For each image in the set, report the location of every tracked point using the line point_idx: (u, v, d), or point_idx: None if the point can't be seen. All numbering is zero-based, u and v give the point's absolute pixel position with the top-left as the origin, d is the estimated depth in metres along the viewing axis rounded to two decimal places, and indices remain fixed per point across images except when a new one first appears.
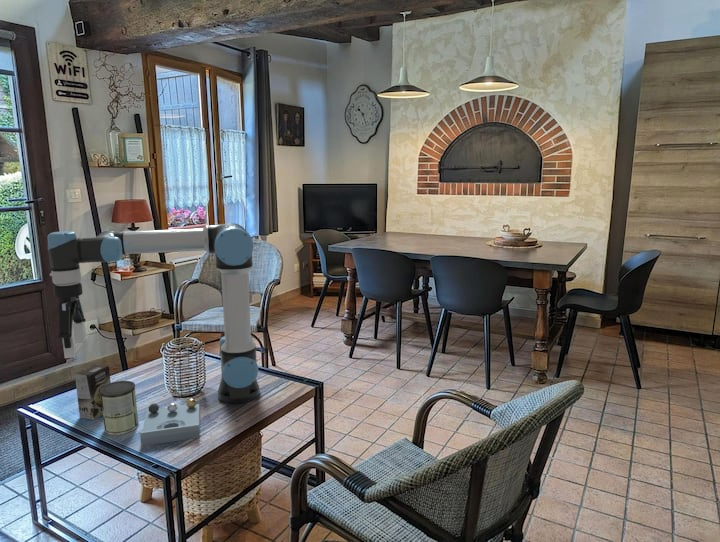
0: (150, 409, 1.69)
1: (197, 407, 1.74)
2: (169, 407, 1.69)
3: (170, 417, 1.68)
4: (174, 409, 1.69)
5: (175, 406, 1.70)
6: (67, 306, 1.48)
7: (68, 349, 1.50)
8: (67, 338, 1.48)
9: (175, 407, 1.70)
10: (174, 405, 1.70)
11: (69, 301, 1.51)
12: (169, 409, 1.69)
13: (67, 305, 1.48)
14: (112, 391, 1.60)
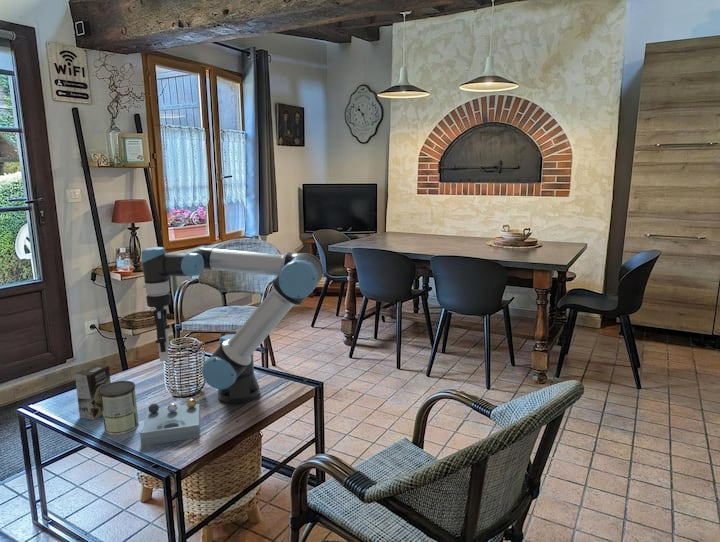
0: (150, 409, 1.69)
1: (197, 407, 1.74)
2: (169, 407, 1.69)
3: (170, 417, 1.68)
4: (174, 409, 1.69)
5: (175, 406, 1.70)
6: (162, 314, 1.65)
7: (163, 353, 1.67)
8: (163, 343, 1.65)
9: (175, 407, 1.70)
10: (174, 405, 1.70)
11: (162, 310, 1.68)
12: (169, 409, 1.69)
13: (162, 313, 1.65)
14: (112, 391, 1.60)
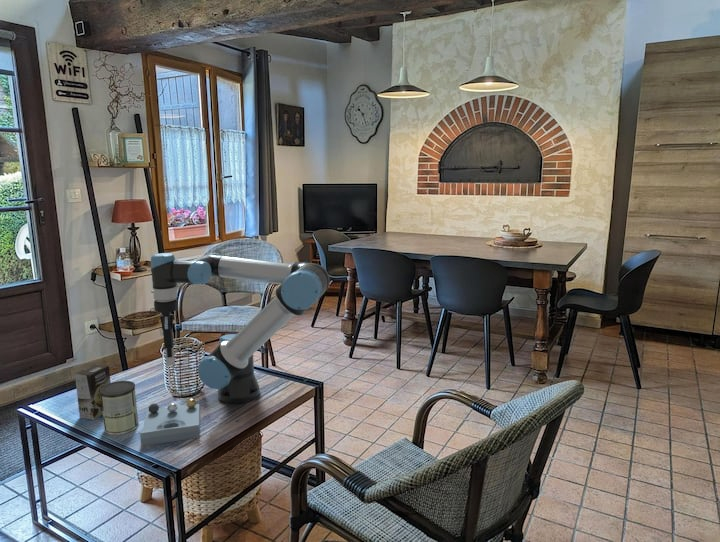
0: (150, 409, 1.69)
1: (197, 407, 1.74)
2: (169, 407, 1.69)
3: (170, 417, 1.68)
4: (174, 409, 1.69)
5: (175, 406, 1.70)
6: (169, 326, 1.68)
7: (169, 358, 1.75)
8: (170, 349, 1.73)
9: (175, 407, 1.70)
10: (174, 405, 1.70)
11: (168, 317, 1.69)
12: (169, 409, 1.69)
13: (169, 326, 1.68)
14: (112, 391, 1.60)
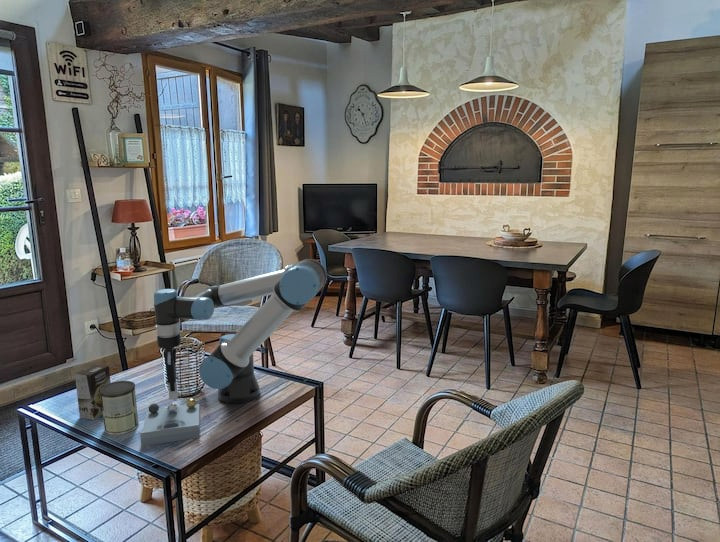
0: (150, 409, 1.69)
1: (197, 407, 1.74)
2: (169, 407, 1.69)
3: (170, 417, 1.68)
4: (174, 409, 1.69)
5: (175, 406, 1.70)
6: (172, 362, 1.70)
7: (172, 392, 1.77)
8: (173, 383, 1.75)
9: (175, 407, 1.70)
10: (174, 405, 1.70)
11: (171, 353, 1.71)
12: (169, 409, 1.69)
13: (172, 361, 1.70)
14: (112, 391, 1.60)
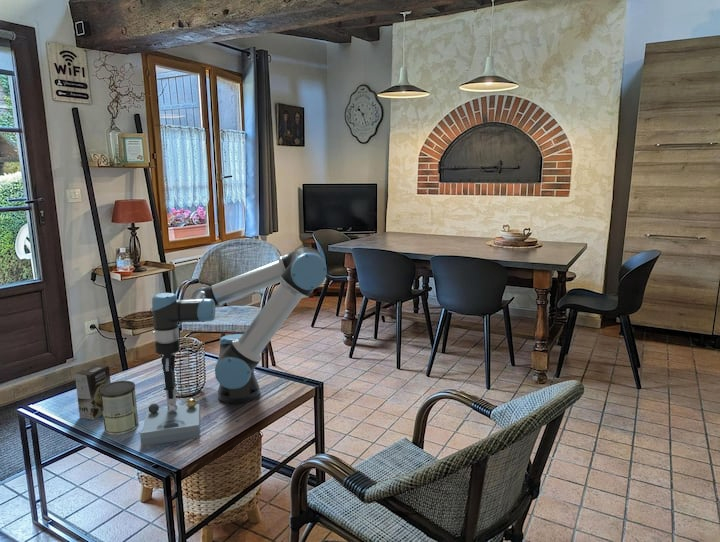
0: (150, 409, 1.69)
1: (197, 407, 1.74)
2: (169, 407, 1.69)
3: (170, 417, 1.68)
4: (174, 409, 1.69)
5: (175, 406, 1.70)
6: (170, 369, 1.64)
7: (170, 399, 1.71)
8: (171, 390, 1.69)
9: (175, 407, 1.70)
10: (174, 405, 1.70)
11: (169, 359, 1.65)
12: (169, 409, 1.69)
13: (170, 368, 1.64)
14: (112, 391, 1.60)
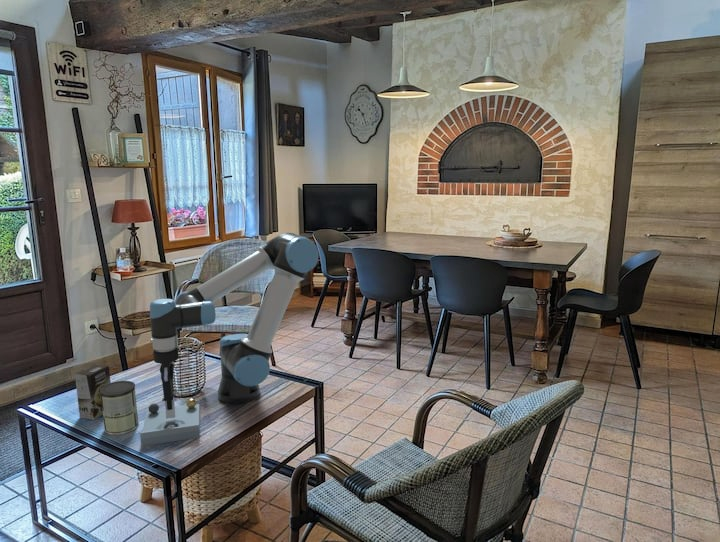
0: (150, 409, 1.69)
1: (197, 407, 1.74)
2: None
3: None
4: None
5: None
6: (169, 379, 1.56)
7: (169, 410, 1.64)
8: (170, 401, 1.62)
9: None
10: None
11: (168, 368, 1.58)
12: None
13: (169, 378, 1.56)
14: (112, 391, 1.60)
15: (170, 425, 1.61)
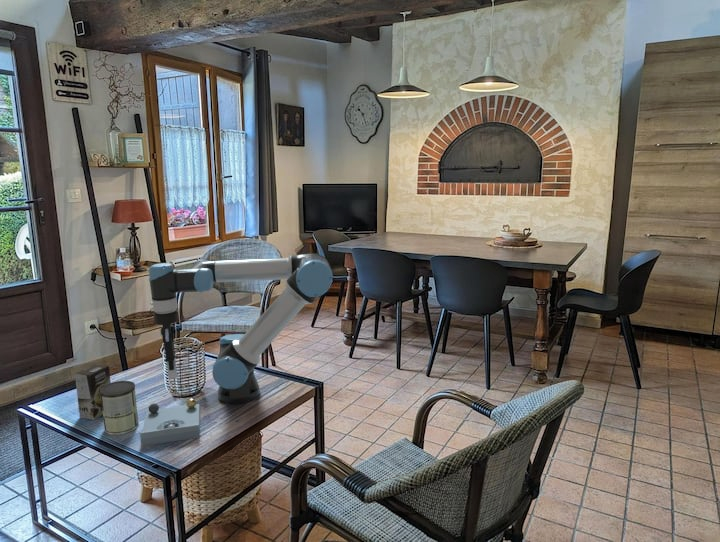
0: (150, 409, 1.69)
1: (197, 407, 1.74)
2: None
3: (170, 417, 1.68)
4: None
5: None
6: (170, 339, 1.63)
7: (171, 371, 1.70)
8: (171, 361, 1.68)
9: None
10: None
11: (169, 329, 1.64)
12: None
13: (170, 338, 1.63)
14: (112, 391, 1.60)
15: (170, 424, 1.62)
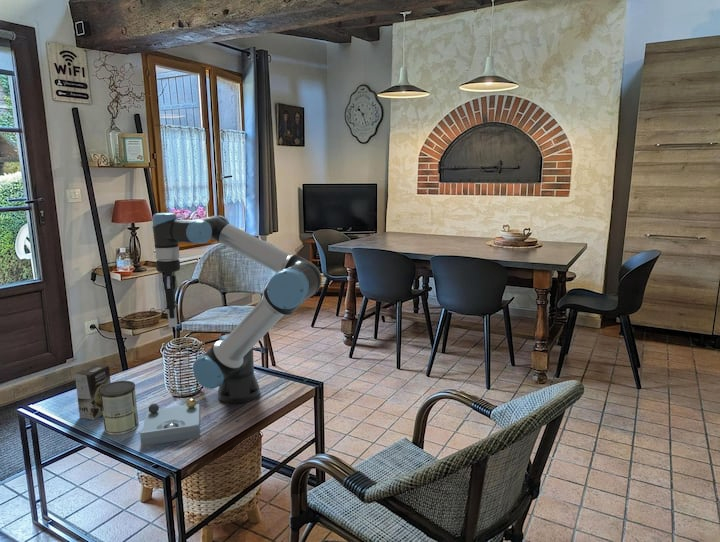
0: (150, 409, 1.69)
1: (197, 407, 1.74)
2: None
3: (170, 417, 1.68)
4: None
5: None
6: (171, 286, 1.67)
7: (172, 319, 1.74)
8: (172, 309, 1.72)
9: None
10: None
11: (171, 277, 1.68)
12: None
13: (171, 285, 1.67)
14: (112, 391, 1.60)
15: None
